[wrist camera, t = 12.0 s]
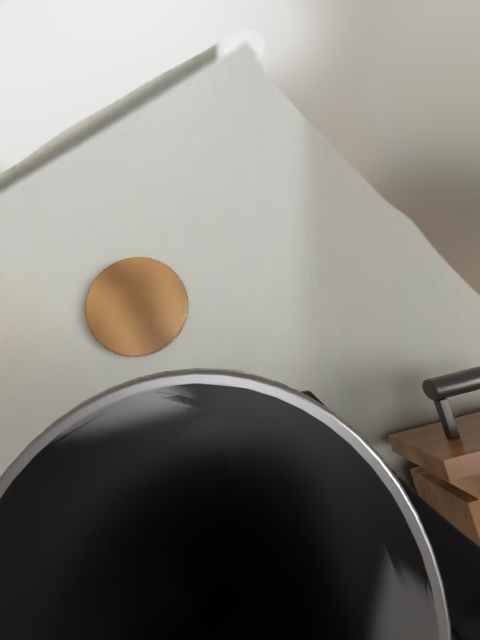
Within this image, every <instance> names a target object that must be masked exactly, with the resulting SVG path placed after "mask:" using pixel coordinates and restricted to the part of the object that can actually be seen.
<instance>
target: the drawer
mask: <svg viewBox="0 0 480 640" xmlns="http://www.w3.org/2000/svg"><path fill="white" fill-rule="evenodd" d="M422 386H423V390H424V392H425V394H426V395H427V397H428V398H430V399H431V400H434V403H435V406H436V409H437V412H438V415H439V418H440V421H441V422H437V423H433V424H430V425H426V426H422V427H418V428H414V429H410V430H406V431H402V432H399V433H395V434H391V435H388V437H389V441H390V444H391V447H392V451H394V452H395V453H397V454H399V455H401V456H403V457H405V458H406V459H408V460H410V461H412V462H414V463H415V464H417V465H419V466H417V467H414V468H410V472H411V475H412V478H413V481H414V485H415V488H416V491H417V494H418V495H419V496H420V497H421V498H422V499H424V500H425V501H426V502H427V503H428V504H429V505H430V506H431V507H433V508H434V509H435V510H436V511H437V512H438V513H440V514H441V515H442V516H443V517H444V518H446V519H447V520H448V521H449V522H450V523H451V524H453V525H454V526H455V527H456V528H458V529H459V530H460V531H461V532H462V533H464V534H465V535H466V536H467V537H469V538H470V539H471V540H472V541H474V542H475V543H476V544H477V545H478V546H480V412H476V413H472V414H468V415H464V416H461V417H457V418H454V417H453V414H452V411H451V408H450V405H449V402H448V399H446V398H447V397H451V396H455V395H459V394H463V393H467V392H471V391H475V390H479V389H480V366H479V367H475V368H471V369H467V370H463V371H459V372H455V373H451V374H447V375H443V376H439V377H435V378H431V379H427V380H424V381H423V384H422Z"/></svg>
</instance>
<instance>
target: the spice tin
mask: <svg viewBox="0 0 480 640" xmlns="http://www.w3.org/2000/svg"><path fill="white" fill-rule="evenodd" d="M0 640H452V633H451V621H450V616H449V611H448V605H447V600H446V595H445V589H444V584H443V581H442V577H441V574H440V571H439V568H438V564H437V561H436V558H435V555H434V551H433V548H432V546H431V543H430V541H429V539H428V536H427V534H426V532H425V529H424V527H423V525H422V522H421V520H420V518H419V515H418V513H417V511H416V509H415V508H414V506H413V504H412V502H411V501H410V499H409V497H408V495H407V494H406V492H405V490H404V488H403V487H402V485H401V483H400V482H399V480H398V479H397V477H396V476H395V475H394V473H393V472H392V471H391V469H390V468H389V467H388V465H387V464H386V463H385V461H384V460H383V459H382V457H381V456H380V455H379V454H378V453H377V452H376V450H375V449H374V448H373V447H372V446H371V445H370V444H369V443H368V442H367V441H366V440H365V439H364V438H363V437H362V436H361V435H360V434H359V433H358V432H357V431H356V430H355V429H354V428H353V427H351V426H350V425H349V424H348V423H347V422H345V421H344V420H343V419H342V418H340V417H339V416H338V415H337V414H336V413H334V412H333V411H331V410H330V409H328V408H327V407H325V406H324V405H322V404H320V403H319V402H317V401H316V400H314V399H312V398H311V397H309V396H308V395H305V394H303V393H301V392H299V391H297V390H295V389H292V388H290V387H288V386H286V385H284V384H282V383H279V382H276V381H274V380H270V379H267V378H264V377H261V376H258V375H254V374H251V373H246V372H243V371H239V370H231V369H208V368H195V369H185V370H174V371H165V372H161V373H156V374H152V375H148V376H144V377H139V378H136V379H133V380H130V381H128V382H125V383H122V384H120V385H117V386H114V387H111V388H109V389H107V390H105V391H103V392H101V393H99V394H97V395H95V396H93V397H92V398H90V399H88V400H86V401H84V402H82V403H80V404H79V405H77V406H76V407H75V408H73V409H72V410H70V411H69V412H67V413H66V414H64V415H63V416H61V417H60V418H59V419H57V420H56V421H54V422H53V423H52V424H51V425H50V426H49V427H48V428H46V429H45V430H44V431H43V432H42V433H41V434H40V435H38V436H37V437H36V438H35V439H34V440H33V441H32V442H30V444H29V445H28V446H27V447H26V448H25V449H24V450H23V451H22V452H21V453H20V455H19V456H18V457H17V458H16V459H15V460H14V461H13V462H12V463H11V465H10V466H9V467H8V468H7V469H6V470H5V472H4V473H3V474H2V476H1V477H0Z"/></svg>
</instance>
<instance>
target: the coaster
mask: <svg viewBox="0 0 480 640" xmlns="http://www.w3.org/2000/svg"><path fill="white" fill-rule="evenodd" d="M187 311H188V299H187V294H186V290H185V288H184V285H183V283H182V282H181V280H180V278H179V277H178V276H177V274H176V273H175V272H174V271H173V270H172V269H171V268H169V267H168V266H167V265H165V264H163V263H161V262H160V261H157V260H154V259H150V258H144V257H134V258H127V259H124V260H121V261H118V262H116V263H114V264H112V265H110V266H109V267H108V268H106V269H105V270H104V271H103V272H102V273H100V274H99V276H98V277H97V278H96V279H95V281H94V282H93V284H92V285H91V288H90V290H89V292H88V295H87V299H86V306H85V313H86V320H87V324H88V326H89V329H90V331H91V333H92V334H93V336H94V337H95V338H96V340H97V341H98V342H99V343H100V344H101V345H103V346H104V347H105V348H107V349H108V350H110V351H112V352H115V353H117V354H121V355H125V356H144V355H149V354H152V353H155V352H157V351H159V350H161V349H163V348H164V347H166V346H167V345H168V344H170V343H171V342H172V341H173V340H174V339H175V338H176V337H177V335H178V334H179V333H180V331H181V329H182V327H183V325H184V323H185V320H186V317H187Z"/></svg>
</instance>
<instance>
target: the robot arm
mask: <svg viewBox="0 0 480 640" xmlns="http://www.w3.org/2000/svg"><path fill="white" fill-rule="evenodd" d="M301 393H303V394H305V395H308V396H309V397H311V398H312V399H314V400H316V401H317V402H319V403H320V404H322V405H324V404H323V403H322V402H321V401H320V400H319V399H318V398H317V397H316V396H315V395H313V394H312V393H311V392H310V391H302V392H301ZM324 406H325V405H324ZM325 407H326V406H325ZM388 467H389V466H388ZM389 468H390V467H389ZM390 469H391V468H390ZM391 471H392V472H393V473H394V475H395V476H396V477H397V474H396V473H395V472H394V471H393V470H392V469H391ZM397 479H398V480H399V482H400V483H401V485H402V487H403V488H404V490H405V492H406V494H407V495H408V497H409V499H410V501H411V502H412V504H413V506H414V508H415V509H416V511H417V513H418V515H419V518H420V520H421V522H422V525H423V527H424V529H425V532H426V534H427V536H428V539H429V541H430V543H431V546H432V548H433V551H434V555H435V558H436V561H437V564H438V568H439V571H440V574H441V577H442V581H443V584H444V589H445V595H446V600H447V605H448V611H449V616H450V621H451V633H452V640H480V546H478V545H477V544H476V543H475V542H474V541H472V540H471V539H470V538H469V537H467V536H466V535H465V534H464V533H462V532H461V531H460V530H459V529H458V528H456V527H455V526H454V525H453V524H451V523H450V522H449V521H448V520H447V519H446V518H444V517H443V516H442V515H441V514H440V513H438V512H437V511H436V510H435V509H434V508H433V507H431V506H430V505H429V504H428V503H427V502H426V501H425V500H424V499H422V498H421V497H420V496H419V495H418V494H417V493H416V492H415V491H414V490H413V489H412V488H411V487H409V486H408V485H407V484H406V483H405V482H404V481H403V480H402V479H401V478H400V477H397Z"/></svg>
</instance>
